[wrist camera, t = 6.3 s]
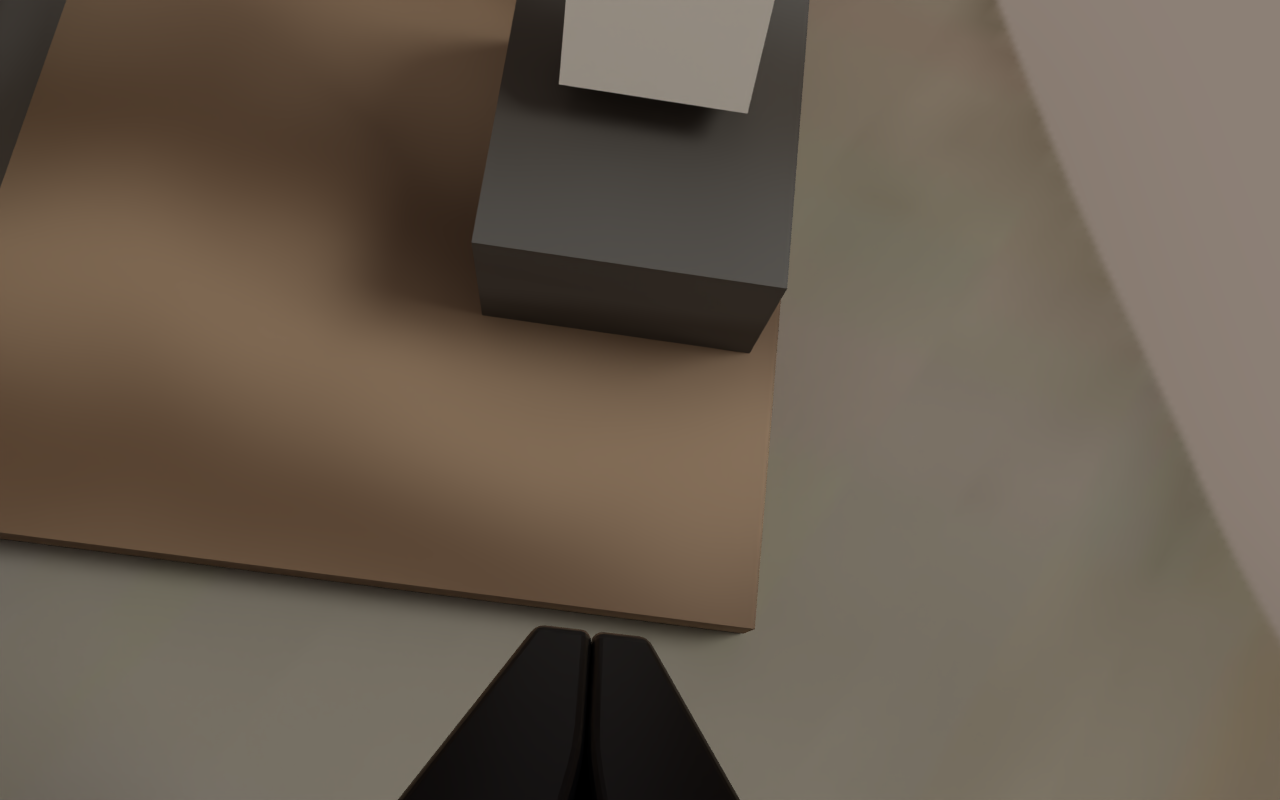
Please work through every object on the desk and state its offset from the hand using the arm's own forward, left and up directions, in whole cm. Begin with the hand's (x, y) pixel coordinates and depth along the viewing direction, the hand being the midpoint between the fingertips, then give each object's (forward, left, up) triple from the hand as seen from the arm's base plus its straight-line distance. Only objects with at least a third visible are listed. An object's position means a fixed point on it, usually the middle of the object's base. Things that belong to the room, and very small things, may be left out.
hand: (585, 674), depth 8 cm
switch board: (+8, +7, -11) cm, 15 cm away
